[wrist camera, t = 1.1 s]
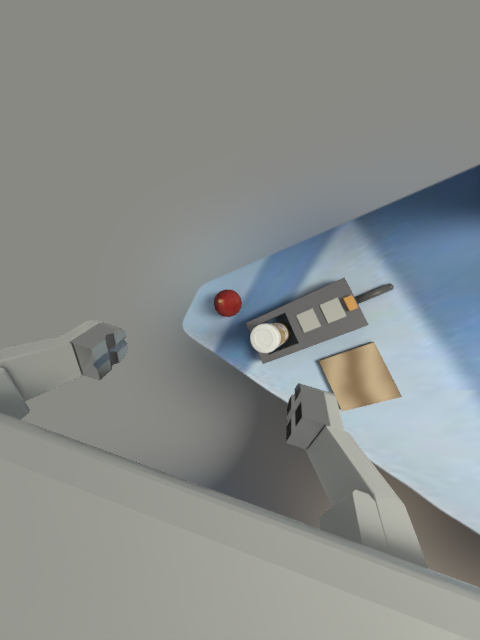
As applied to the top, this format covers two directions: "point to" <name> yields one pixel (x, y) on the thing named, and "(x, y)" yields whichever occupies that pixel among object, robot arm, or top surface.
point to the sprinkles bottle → (269, 336)
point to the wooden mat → (359, 377)
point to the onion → (227, 303)
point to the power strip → (319, 316)
